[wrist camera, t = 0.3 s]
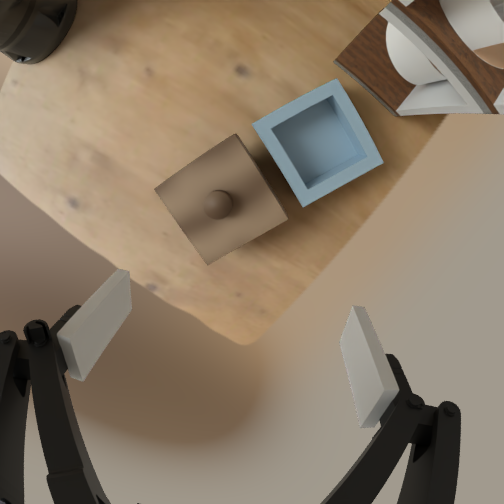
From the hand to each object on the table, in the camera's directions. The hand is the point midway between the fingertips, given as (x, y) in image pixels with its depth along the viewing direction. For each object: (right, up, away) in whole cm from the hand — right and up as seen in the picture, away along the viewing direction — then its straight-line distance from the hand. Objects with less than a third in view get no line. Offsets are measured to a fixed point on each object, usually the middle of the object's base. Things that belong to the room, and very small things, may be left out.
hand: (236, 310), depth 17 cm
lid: (-3, +10, +18) cm, 21 cm away
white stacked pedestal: (+19, +28, +13) cm, 36 cm away
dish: (+9, +17, +18) cm, 27 cm away
